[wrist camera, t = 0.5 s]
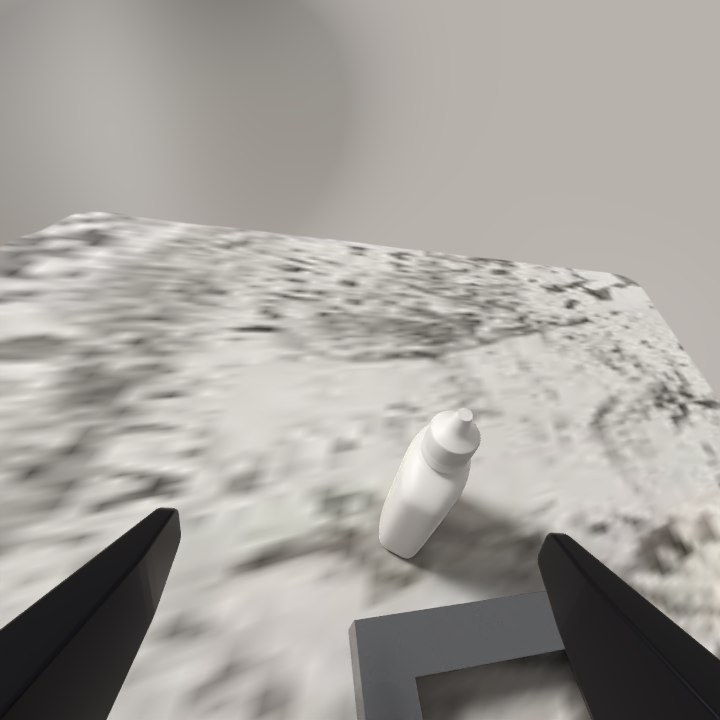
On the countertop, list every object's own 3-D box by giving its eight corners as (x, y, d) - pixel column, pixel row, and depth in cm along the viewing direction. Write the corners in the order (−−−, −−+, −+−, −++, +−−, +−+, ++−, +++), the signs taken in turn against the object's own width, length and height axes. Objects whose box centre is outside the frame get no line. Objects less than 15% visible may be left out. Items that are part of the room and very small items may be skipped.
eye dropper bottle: (459, 519, 26) (542, 422, 17) (396, 571, 23) (456, 487, 14) (417, 468, 28) (471, 359, 19) (355, 510, 25) (385, 406, 16)
